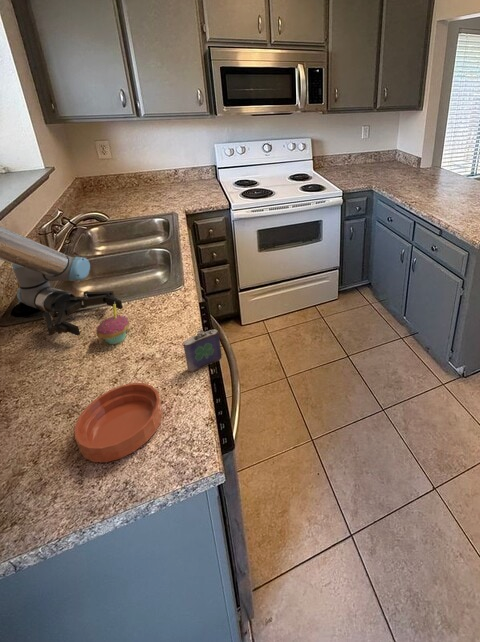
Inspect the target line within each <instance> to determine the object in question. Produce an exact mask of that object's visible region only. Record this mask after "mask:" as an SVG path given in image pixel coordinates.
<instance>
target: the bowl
mask: <svg viewBox="0 0 480 642" xmlns="http://www.w3.org/2000/svg"><path fill="white" fill-rule="evenodd" d="M162 417H163V407H162V402H161V398H160V395H159V391H158V390H157V389H156V388H155V387H154V386H153V385H150V384H148V383H144V382H132V383H127V384H122V385H119V386H116V387H115V388H112V389H109V390H108V391H106V392H104V393H103V394H100V395H99V396H98V397H97V398H95V399H93V401H91V402H90V403H89V404H88V405H87V406H86V407H85V408H84V410H83V411H82V412H81V414H80V415H79V416H78V418H77V420H76V423H75V426H74V440H75V443H76V445H77V447H78V450H79V452H80V454H81V455H82V457H83V458H84V459H86V460H88V461H91V462H92V463H108V462H109V463H110V462H112V461H116V460H120V459H122V458H124V457H126V456H128V455H130V454H132V453H134V452H136V451H137V450H138V449H140V448H141V447H142V446H143V445H144V444H146V443H147V442H148V441H149V440H150V439H151V437H152V436H153V435H154V434H155V433H156V431H157V430H158V428H159V426H160V424H161V422H162Z"/></svg>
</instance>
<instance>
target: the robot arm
mask: <svg viewBox="0 0 480 642" xmlns="http://www.w3.org/2000/svg"><path fill="white" fill-rule="evenodd" d="M0 261H2V262H6V263H9V264H11V265H12V270H13V273H14V275H15V278H16V280H17V283H18V285H19V288H18V289H17V293H16V297H17V300H18V301H19V302H20V303H22V304H24V305H26V306H28V307H31V308H34V309H37V310H40V311H43V313H42V317H43V320H44V322H45V325H46V330H47V332H48V335H49V336H51V335H54V334H55V333H57V334H59V335H60V334H62V333H63V334H67V333H69V334H73V335H75V336H77V337H78V336H80V335H81V332H80V328H79V326H78V325H76V324H74V323H71V322H67V321H66V319H68V316H69V315H72V314H73V313H75V312H76V311H78V310H80V309H87V307H91V306H97V305H104V304H106V305H107V306H109V307H112V308H113V304H114V302H115V304H116V309H119V310H122V309H123V308H124V306H123V302H122V300H121V299H118V298H117V297H115V293H114V291H113V290H108V291H106V290H105V291H88V290H85V291H84V292H83V295H81V296H76V295H74V294H73V293H71V292H69V291H66V290H63V289H60V288H56V287H53V286H51V284H50V282H52V281H53V282H76V281H80V282H81V281H84V280H85V279H86V278H87V277H88V276H89V274H90V271H91V263H90V261H89V260H88V258H86V257H83V256H82V257H80V256H70V255H68V254H65V253H63V252H61V251H58V250H57V249H54V248H51V247H49V246H47V245H45V244H43V243H40V242H38V241H35V240H33V239H31V238H30V237H26V236H24V235H22V234H20V233H17V232H15V231H13V230H11V229H8V228H6V227H4V226H2V225H0ZM55 316H56V320H55V323H54V322H53V320H54V317H55Z"/></svg>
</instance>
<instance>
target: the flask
mask: <svg viewBox="0 0 480 642" xmlns="http://www.w3.org/2000/svg"><path fill="white" fill-rule="evenodd" d="M195 331H196V332H197V334H195V335H194V336H192V337H190V338H188V339H186V340H184V341H183V343H182V345H183V351H184V356H185V360H186V366H187V371H188V372H189V373H193V372H197V371H198V370H200V369H204V368H206V367H207V366H208V365H212V364H213V363H216V362H219V361H220V360H222V358H223V356H222V355H223V354H222V346H221V339H220V333H219V331H218V330H217V329H209V330H207V331H204V330H203V331H202V328H198V329H197V330H195Z"/></svg>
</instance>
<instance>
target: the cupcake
mask: <svg viewBox="0 0 480 642" xmlns="http://www.w3.org/2000/svg"><path fill="white" fill-rule="evenodd" d="M112 309H113V315H112V316H108V317H107V318H105V319H104V320H103V321H101V322H100V323H99V324H98V325H97V327H96V336H97V337H98V338H100V339H104V340H105V342H106V343H107V344H108V345H116V344H117V345H118V344H119V343H121V342H123V341H124V340H125V339H126V335H127V330H128V329H129V328H130V326H131V325H130V324H131V323H130V320H129V318H128V317H126V315H120V314H119V315H117V308H116V304H115V302H114V304H113V307H112Z"/></svg>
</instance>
